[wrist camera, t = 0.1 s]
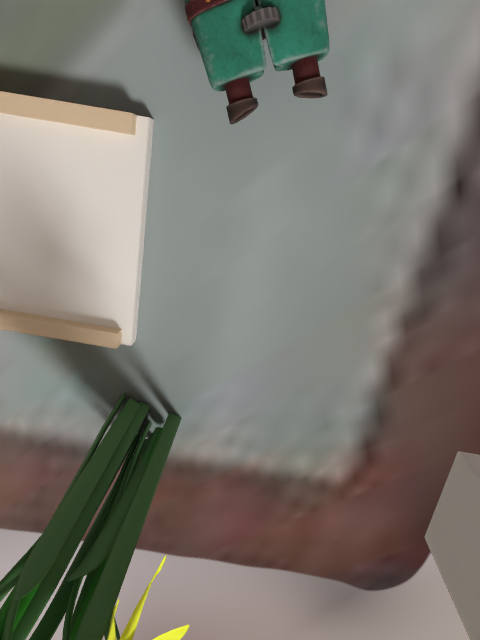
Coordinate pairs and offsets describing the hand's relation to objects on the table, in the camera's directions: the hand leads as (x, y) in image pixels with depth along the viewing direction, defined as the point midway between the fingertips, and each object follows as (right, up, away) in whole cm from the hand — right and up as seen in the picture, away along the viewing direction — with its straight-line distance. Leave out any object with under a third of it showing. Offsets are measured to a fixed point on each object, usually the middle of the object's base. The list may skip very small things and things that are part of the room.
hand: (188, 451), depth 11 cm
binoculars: (+3, +24, +22) cm, 33 cm away
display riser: (-17, +12, +27) cm, 35 cm away
